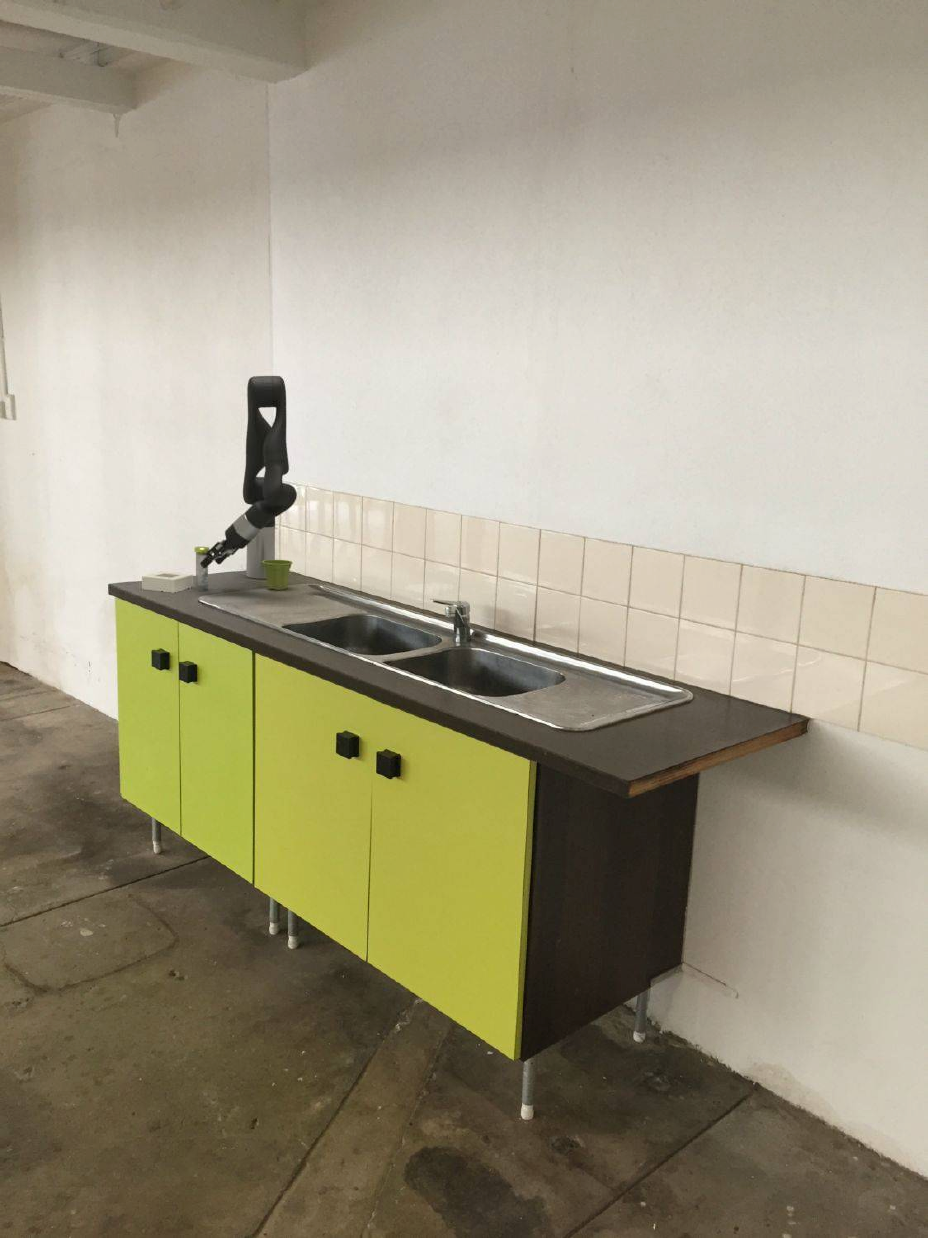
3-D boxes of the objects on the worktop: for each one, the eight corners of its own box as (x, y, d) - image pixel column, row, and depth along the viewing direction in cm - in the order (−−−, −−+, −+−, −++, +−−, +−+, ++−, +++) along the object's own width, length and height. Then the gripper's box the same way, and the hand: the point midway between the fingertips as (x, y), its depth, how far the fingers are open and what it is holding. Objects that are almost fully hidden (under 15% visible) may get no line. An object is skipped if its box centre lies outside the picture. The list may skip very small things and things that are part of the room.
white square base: (161, 583, 327) (161, 571, 326) (193, 587, 324) (193, 574, 323) (142, 589, 317) (141, 576, 316) (173, 593, 314) (173, 579, 313)
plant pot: (258, 586, 332) (259, 559, 330) (287, 585, 336) (288, 559, 334) (266, 591, 324) (266, 564, 322) (295, 591, 328) (296, 563, 326)
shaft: (199, 588, 323) (199, 546, 320) (211, 589, 322) (212, 547, 319) (191, 590, 319) (191, 547, 316) (204, 592, 318) (204, 549, 315)
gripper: (247, 518, 320) (213, 551, 325) (224, 522, 306) (189, 557, 311) (262, 537, 319) (228, 570, 325) (240, 542, 306) (205, 576, 311)
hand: (209, 564), depth 318 cm, fingers open, 8 cm apart
